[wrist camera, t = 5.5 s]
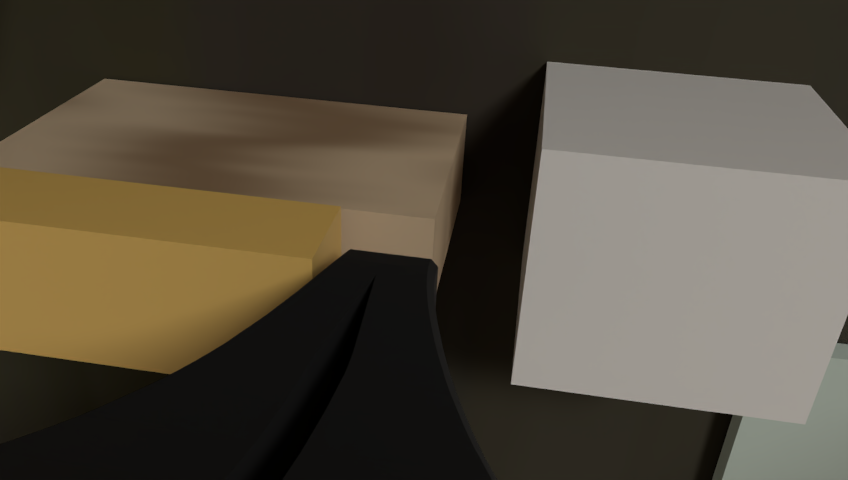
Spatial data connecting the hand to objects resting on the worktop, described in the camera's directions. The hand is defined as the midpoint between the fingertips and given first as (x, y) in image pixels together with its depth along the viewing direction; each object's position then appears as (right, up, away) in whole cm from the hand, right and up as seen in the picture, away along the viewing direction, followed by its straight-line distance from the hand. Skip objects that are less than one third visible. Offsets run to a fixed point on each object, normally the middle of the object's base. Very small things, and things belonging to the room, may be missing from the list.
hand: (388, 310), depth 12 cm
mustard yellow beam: (-5, +1, +1) cm, 6 cm away
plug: (+6, +2, +5) cm, 8 cm away
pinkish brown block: (-3, +3, +5) cm, 7 cm away
